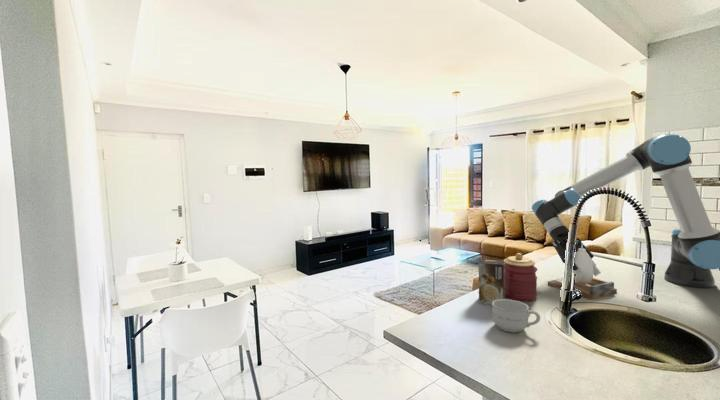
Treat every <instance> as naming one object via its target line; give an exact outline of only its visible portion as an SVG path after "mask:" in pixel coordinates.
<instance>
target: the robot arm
mask: <svg viewBox="0 0 720 400" xmlns="http://www.w3.org/2000/svg"><path fill="white" fill-rule="evenodd" d="M691 151H692V147H691V143H690V142H689V141H688V139H686V138H685V137H683V136H682V135H679V134H674V133H673V134H672V133H665V134H661V135H659V136H654V137H651V138H649V139H647V140H644V141H643V142H642V143H641V144H639V145H638V146H637V147H635V148H633V149H631V150H630V151H628V152H627V153H626V155H625V156H624V157H621V158H620V159H618V160H616V161H614V162H612V163H610V164H609V165H607V166H604V167H603V168H601V169H599V170H597V171H596V172H594V173H592V174H590V175H588V176H586V177H584V178H583V179H581V180H579V181H576V182H575V183H574V184H572V185H569V186H568V187H566V188H564V189H562V190H559V191H557V192H556V193H555V195H554V197H553V198H551V199H550V200H547V199H544V198H543V199H540V200H537V201H535V202H534V203H533V204H532V206H531V210H532V211H533V214H535V215H534V216H535V217H537V219H538V221H539V222H540V223H541V225H542V226H543V227H544V229H545V230H546V232H547V233H548V234H549V236H550V238H551V239H552V240H553V242H552V243H551V246H552V247H553V248H554V249H555V251H556V252H557V254H558V256H559V258H560V259H561V261H562V263H563V264H566V263H565V250H566V243H567V239H568V232H569V231H570V229H569V228H568V227H567V226H566V225H565V223H564V222H563V221H562V219H561V218H560V216H559V215H561V214H563V213H565V212H566V211H568V210H570V209H572V208H573V207H575V206H577V205H578V204H577V203H578V200H579V199H580V198H581V197H582V196H583V195H584V194H585V193H587V192H588V191H590V190H593V189H596V188H601V189H603V188H604V187H607V186H609V185H610V184H613V183H614V182H616V181H618V180H621V179H622V178H624V177H626V176H628V175H631V174H632V173H635V172H636V171H643V170H645V169H648V168H651V171H652V173H653V174H656V175H659V178H660V180H661V182H662V185H663V188H664V190H665V193H666V195H667V198H668V201H669V203H670V206H671V208H672V210H673V213H674V216H675V218H676V221H677V223H678V226H679V228H674V229H673V230H672V233H671V248H670V262H669V264H668V266H667V268H666V269H665V272H664V275H663V276H664V280H666V281H668V282H670V283H673V284H676V285H681V286H686V287H692V288H693V287H694V288H702V289H703V288H705V289H709V288H714V287H715V284H716V281H715V277H714V275H713V272H712V270H719V269H720V230H719V229H718V228H716V227H713V226H712V224H711V221H710V219H709V216H708V213H707V212H706V211H707V210H706V209H705V207H704V206H705V205H704V203H703V201H702V199H701V196H700V194H699V191H698V189H697V187H696V184H695V181H694V178H693V176H692V173H691V171H690V169H689V168H690V167H691V165H692V164H693V161H692V158H691V156H690V155H691V154H690V153H691ZM575 239H576V252H577V251H579V250H578V249H579V248H581V244H583V248H584V249H586V252H587V253H588V254H589V256H590V258H591V260H592V263H593V268H594V274H593V276H594V277H597V276H598V275H600V274H601V273H602V271H600V269H599V267H597V265H596V263H595V262H594V261H593V258H594V257H595V255H593V253H592V252H591V250H589V249H588V247H587V246H586V245H585V244H584V243H583V242H582V240H581V239H580V237H576V238H575ZM576 252H575V253H576ZM573 270H574V271H575V272H576V273H577V275H578V276H579V278H582V277H584V276H585V275H586V274H585V273H584V272H583V270H582V269H581V268H580V267H579V266H578V264H577V263H576V261H574V266H573Z"/></svg>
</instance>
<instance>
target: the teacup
mask: <svg viewBox="0 0 720 400" xmlns="http://www.w3.org/2000/svg"><path fill="white" fill-rule="evenodd" d="M491 306H492V320H493V322H494V323H495V325H496V326H498V328H499V329H500V330H502V331H504V332H505V331H506V332H509V333H519V332H522V331H523V330H525V329H526V328H530V327H531V326H534V325H537V324H539V322H540V321H541V315H540V313H539V312H538V311H537V310H534V309H530V310H529V308H530V307H529V305H528V304H526V303H524V302H522V301H515V300H511V299H508V298H504V299H499V300H495V301H493V302H492V305H491ZM531 314H532V315H535V317H536V319H535V320H533V321H529V317H530V316H531Z"/></svg>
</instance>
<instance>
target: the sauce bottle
mask: <svg viewBox="0 0 720 400" xmlns="http://www.w3.org/2000/svg"><path fill="white" fill-rule="evenodd" d="M583 244H584V243H583ZM583 244H581V248H579V249H578V250H579V251H577V252H575V253H574V255H575V257H574V256H573V257H574V261H576V263H577V264H578V266H579V267H580V268H581V269H582V270H583V272H584V273H585V274H586V275H585V276H584V277H582V278H579V276H578V275H577V273H576V272H575V271H574V270H573V273H574V274H576V280H575V282H577V283H581V284H584V285H587V283H590V282H591V280H592V278H594V268H593V263H592V261H593V259H592V260H591V258H590V256H589V254H588V253H587V252H586V249H584V248H583Z"/></svg>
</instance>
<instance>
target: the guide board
mask: <svg viewBox="0 0 720 400" xmlns="http://www.w3.org/2000/svg"><path fill="white" fill-rule="evenodd" d="M563 278H564V277H562V278H557V279H552V280H547V285H548V286H550V287H553V288H556V289H559V290H561V289H560V288H561V287H562V281H563ZM575 288H576V289H578V290H580V291H581V294H582V298H584V299H588V300H593V299H597V298H600V297H601V298H602V297H604V296H608V295H612V294H616V293H617V292H618V289H617V288H615V282H614V281H605V280H603V279H599V278H595V277H593V278H592V280H591V282H590V283H587V285H584V284H581V283H577V282H575Z"/></svg>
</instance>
